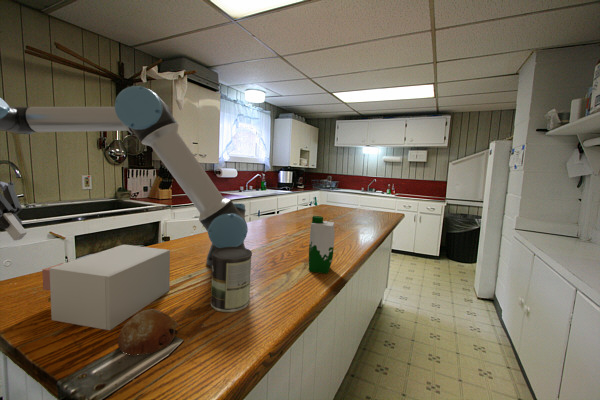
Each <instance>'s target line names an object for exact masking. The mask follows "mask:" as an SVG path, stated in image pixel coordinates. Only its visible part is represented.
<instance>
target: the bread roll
mask: <svg viewBox="0 0 600 400" xmlns="http://www.w3.org/2000/svg"><path fill="white" fill-rule="evenodd" d="M178 325H179V324H178V322H176V319H174V318H173V317H171V316H170V315H168V314H167V313H166V312H163V311H160V310H159V309H156V308H147V309H145V310H141V311H140V312H137V313H135V314H134V315H132V316H131V318H130V319H129V320H128V321H126V322H125V323H124V325H123V326H122V327H121V329H120V332H119V335H118V339H117V346H118V349H119V350H120V351H121V352H122V353H123V352H124V353H123V354H125V353H127V354H130V355H129V356H131V355H137V354H144V355H147V354H146V353H150V354H154V353H157V352H159V351H160V349H161V350H163V349H165V348H166V347H168V346H169V345H170V344H171V343H172V341H173V340H174V338H175V336H177V334H178V333H179V332H178V331H177V330H176V328H177V326H178ZM158 350H159V351H158ZM127 354H126V355H127ZM137 356H138V355H137Z"/></svg>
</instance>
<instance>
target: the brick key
mask: <svg viewBox="0 0 600 400" xmlns="http://www.w3.org/2000/svg"><path fill="white" fill-rule="evenodd" d="M61 264H64V263H63V262H62V263H59V264H55V265H52V266H49V267H46V268H42V273H41V275H42V290H44V291H50V268H52V267H55V266H58V265H61Z"/></svg>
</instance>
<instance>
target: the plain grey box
mask: <svg viewBox="0 0 600 400" xmlns="http://www.w3.org/2000/svg"><path fill="white" fill-rule="evenodd" d="M91 254H92V255H89V254H88V255H89V256H86V255H85V256H86V257H83V256H82V257H83V258H80V257H79V258H80V259H77V258H76V259H77V260H76V259H74V260H71V261H68V262H65V263H64V264H61V263H60V264H61V265H58V264H57V265H58V266H55V265H54V266H55V267H52V266H51V267H52V268H50V311H51V312H50V313H51V315H50V316H51V321H54V322H62V323H67V324H72V325H77V326H83V327H90V328H94V329H98V330H99V329H100V330H106V331H111V330H113V329H114V328H116V327H117V326H118V325H120V324H121V323H123V322H125V321H127V319H129V318H130V317H131V318H132V317H133V316H135V315H136V314H138V313H139V311H140V312H141V311H142V310H143V309H144V308H145V307H147V306H149V305H150V304H151V303H153V302H154V301H156V300H157V299H159V298H160V297H162V296H164V295H165V294H166V293H168V292H169V291H170V285H171V284H170V277H171V276H170V275H171V269H170V267H171V266H170V264H171V249H165V248H155V247H147V246H139V245H132V244H131V245H130V244H120V245H118V246H115V247H112V248H109V249H106V250H102V251H98V252H95V253H91Z"/></svg>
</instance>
